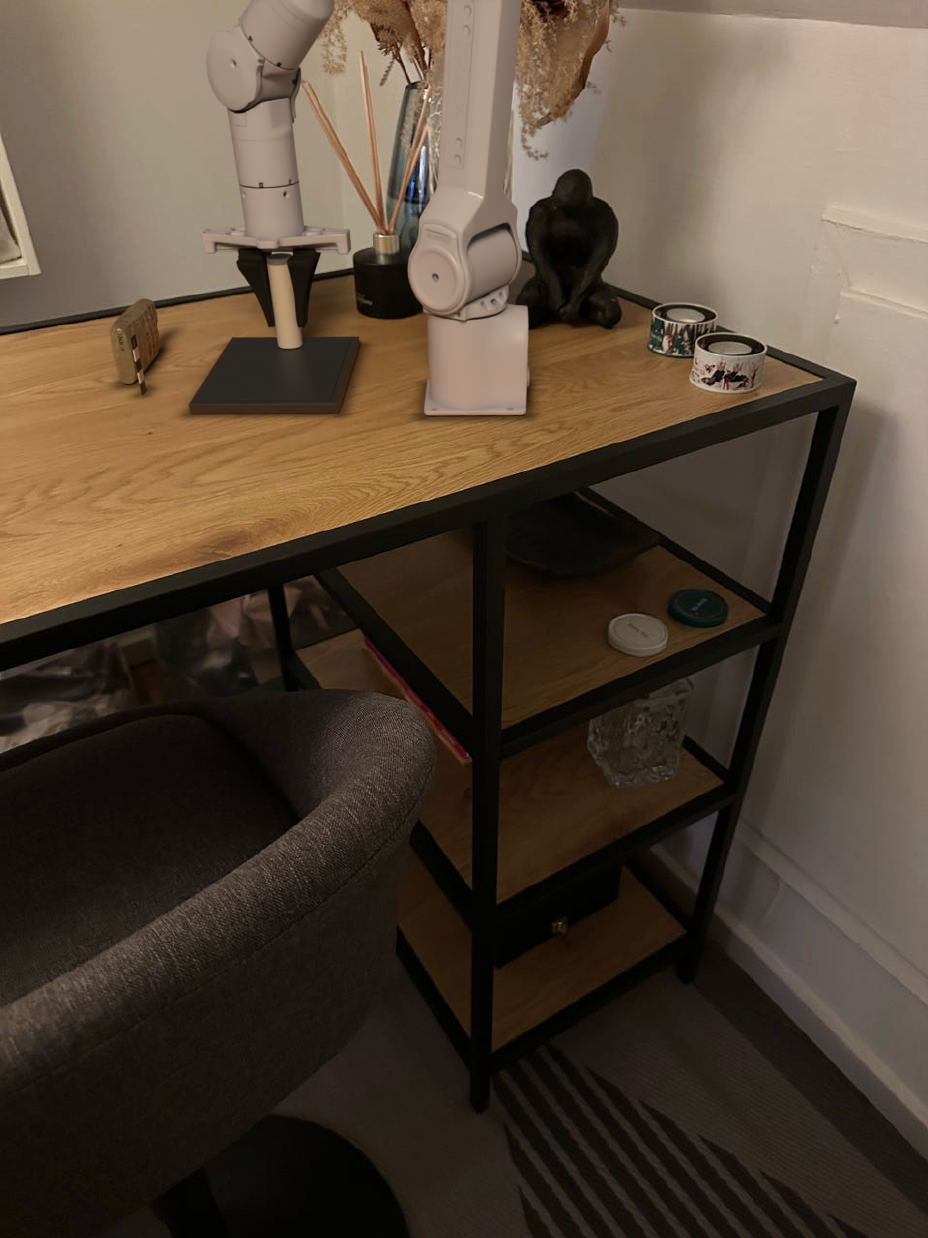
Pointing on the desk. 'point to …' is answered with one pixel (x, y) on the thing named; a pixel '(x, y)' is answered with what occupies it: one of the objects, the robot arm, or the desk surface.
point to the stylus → (283, 302)
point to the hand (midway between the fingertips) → (287, 323)
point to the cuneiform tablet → (135, 341)
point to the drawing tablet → (278, 377)
